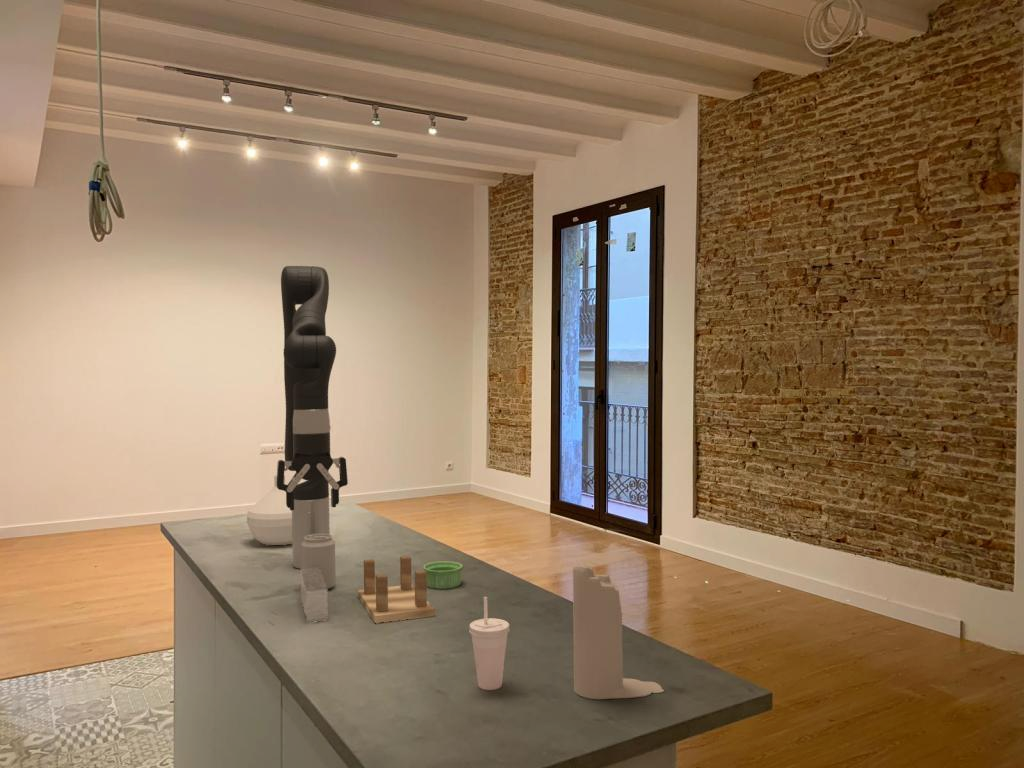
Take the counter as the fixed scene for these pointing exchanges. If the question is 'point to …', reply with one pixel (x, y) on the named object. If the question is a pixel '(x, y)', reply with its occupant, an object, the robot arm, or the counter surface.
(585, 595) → the candle
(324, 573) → the can
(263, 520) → the vase
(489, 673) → the smoothie
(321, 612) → the pale beige plank
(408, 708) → the counter surface
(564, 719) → the counter surface
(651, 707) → the counter surface
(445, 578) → the ramekin
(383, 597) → the rack
